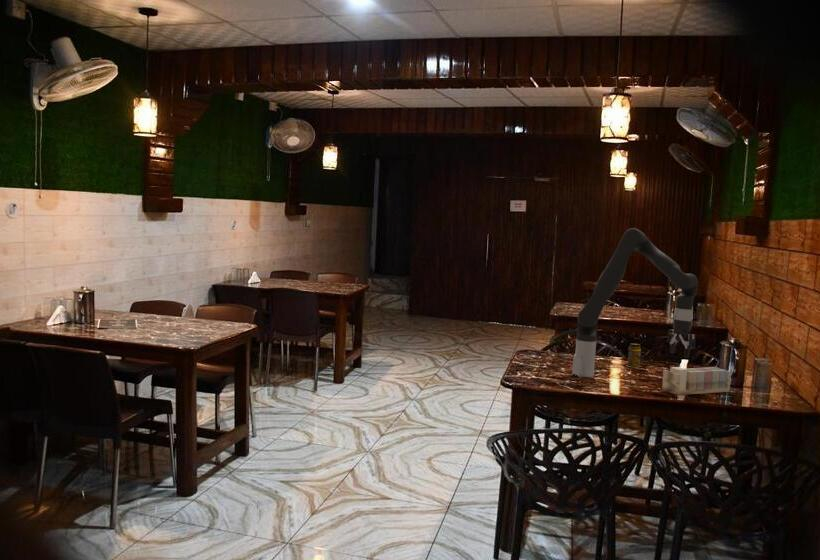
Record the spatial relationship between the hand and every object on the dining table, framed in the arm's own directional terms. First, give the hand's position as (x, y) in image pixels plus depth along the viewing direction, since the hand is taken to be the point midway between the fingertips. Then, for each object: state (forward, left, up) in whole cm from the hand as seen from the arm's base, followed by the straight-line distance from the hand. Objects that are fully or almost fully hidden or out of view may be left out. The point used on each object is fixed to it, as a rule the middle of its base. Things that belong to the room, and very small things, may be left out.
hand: (679, 355), depth 287 cm
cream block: (0, 0, -15) cm, 15 cm away
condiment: (+17, +50, -17) cm, 55 cm away
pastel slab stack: (+11, 0, -17) cm, 20 cm away
